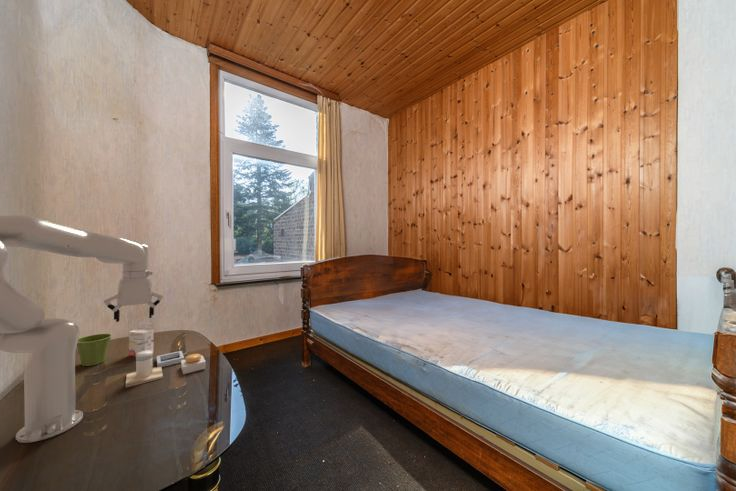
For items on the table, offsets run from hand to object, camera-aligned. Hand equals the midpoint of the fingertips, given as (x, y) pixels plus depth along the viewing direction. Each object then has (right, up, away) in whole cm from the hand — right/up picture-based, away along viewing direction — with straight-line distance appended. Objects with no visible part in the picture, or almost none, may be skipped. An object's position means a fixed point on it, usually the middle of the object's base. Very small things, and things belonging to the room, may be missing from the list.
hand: (134, 319), depth 104 cm
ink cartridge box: (-17, -24, +23) cm, 37 cm away
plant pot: (-30, -24, +14) cm, 41 cm away
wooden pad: (+2, -24, +2) cm, 24 cm away
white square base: (+16, -24, +10) cm, 31 cm away
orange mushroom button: (+16, -23, +10) cm, 30 cm away
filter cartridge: (+2, -23, +2) cm, 23 cm away
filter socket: (+2, -24, +17) cm, 29 cm away
